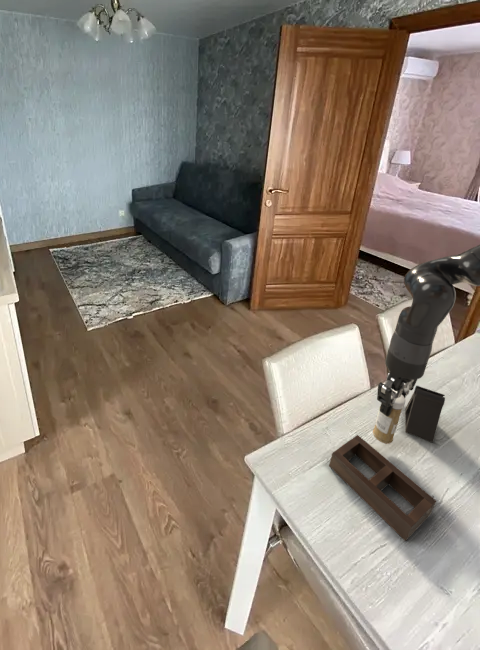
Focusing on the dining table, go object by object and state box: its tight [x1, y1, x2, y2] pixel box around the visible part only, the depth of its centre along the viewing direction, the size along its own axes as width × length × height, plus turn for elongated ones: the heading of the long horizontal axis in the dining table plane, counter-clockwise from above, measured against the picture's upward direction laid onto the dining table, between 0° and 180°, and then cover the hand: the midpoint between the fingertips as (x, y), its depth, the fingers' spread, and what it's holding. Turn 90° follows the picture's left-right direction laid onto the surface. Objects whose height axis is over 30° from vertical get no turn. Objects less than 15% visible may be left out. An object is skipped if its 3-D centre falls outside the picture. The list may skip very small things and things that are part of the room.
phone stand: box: [404, 385, 446, 443], centre depth 91 cm, size 9×6×12 cm, turn 148°
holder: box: [328, 434, 438, 542], centre depth 77 cm, size 10×18×4 cm, turn 30°
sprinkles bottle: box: [372, 389, 406, 445], centre depth 84 cm, size 5×5×14 cm
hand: (390, 408), depth 83 cm, fingers closed on sprinkles bottle, 4 cm apart
